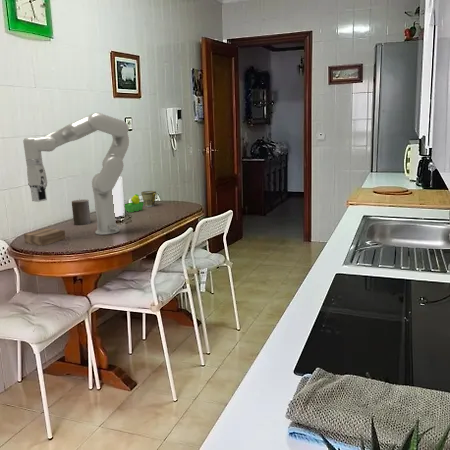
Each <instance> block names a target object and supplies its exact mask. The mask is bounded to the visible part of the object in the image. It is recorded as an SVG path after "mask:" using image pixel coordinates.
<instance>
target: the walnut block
mask: <svg viewBox="0 0 450 450" xmlns="http://www.w3.org/2000/svg"><path fill="white" fill-rule="evenodd" d="M23 237H24V243H25V244H28V243H29V245H35V246H41V245H42V247H43V246H46V245H50V244H53V243H56V242H60V241H64V240H66V239H67V238H66V231H65V230H64V229H56V228H44V229H39V230H36V231H31V232H26V233H24V234H23Z"/></svg>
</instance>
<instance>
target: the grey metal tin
mask: <svg viewBox="0 0 450 450" xmlns="http://www.w3.org/2000/svg"><path fill="white" fill-rule="evenodd" d="M29 189H30V194H31V201H32V202H34V203H35V202H38V203H39V202H43V201H45V202H46V201H48V198H47V192H46V189H45V196H46V199H43V200H40V199H39V189H38V186H36V187H35V186H34V187H30V186H29Z"/></svg>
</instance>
